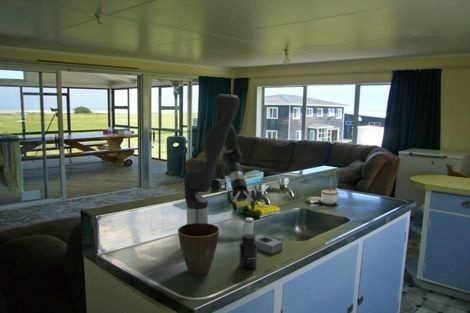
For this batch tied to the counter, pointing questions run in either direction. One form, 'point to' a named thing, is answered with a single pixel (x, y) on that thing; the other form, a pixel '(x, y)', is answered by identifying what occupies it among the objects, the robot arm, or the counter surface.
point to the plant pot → (198, 246)
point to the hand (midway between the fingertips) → (244, 210)
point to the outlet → (268, 244)
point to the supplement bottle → (248, 252)
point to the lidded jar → (329, 196)
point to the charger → (249, 226)
